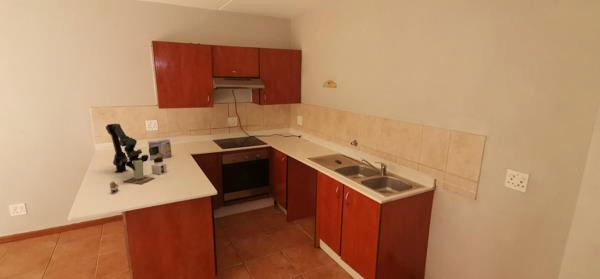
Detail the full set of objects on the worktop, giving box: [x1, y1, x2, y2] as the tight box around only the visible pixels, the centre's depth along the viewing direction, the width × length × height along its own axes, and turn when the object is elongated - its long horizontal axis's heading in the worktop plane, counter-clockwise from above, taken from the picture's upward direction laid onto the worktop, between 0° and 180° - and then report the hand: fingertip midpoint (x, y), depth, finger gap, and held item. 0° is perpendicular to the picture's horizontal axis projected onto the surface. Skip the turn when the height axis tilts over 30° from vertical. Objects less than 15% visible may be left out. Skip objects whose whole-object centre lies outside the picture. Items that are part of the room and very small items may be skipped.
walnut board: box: [123, 176, 156, 185], centre depth 218 cm, size 16×13×1 cm
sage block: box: [132, 160, 145, 179], centre depth 216 cm, size 5×5×13 cm
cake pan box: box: [147, 138, 173, 161], centre depth 274 cm, size 19×5×18 cm, turn 129°
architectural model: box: [109, 180, 120, 194], centre depth 196 cm, size 3×7×7 cm, turn 8°
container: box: [150, 157, 168, 176], centre depth 234 cm, size 8×8×13 cm
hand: (138, 169), depth 216 cm, fingers closed on sage block, 5 cm apart
